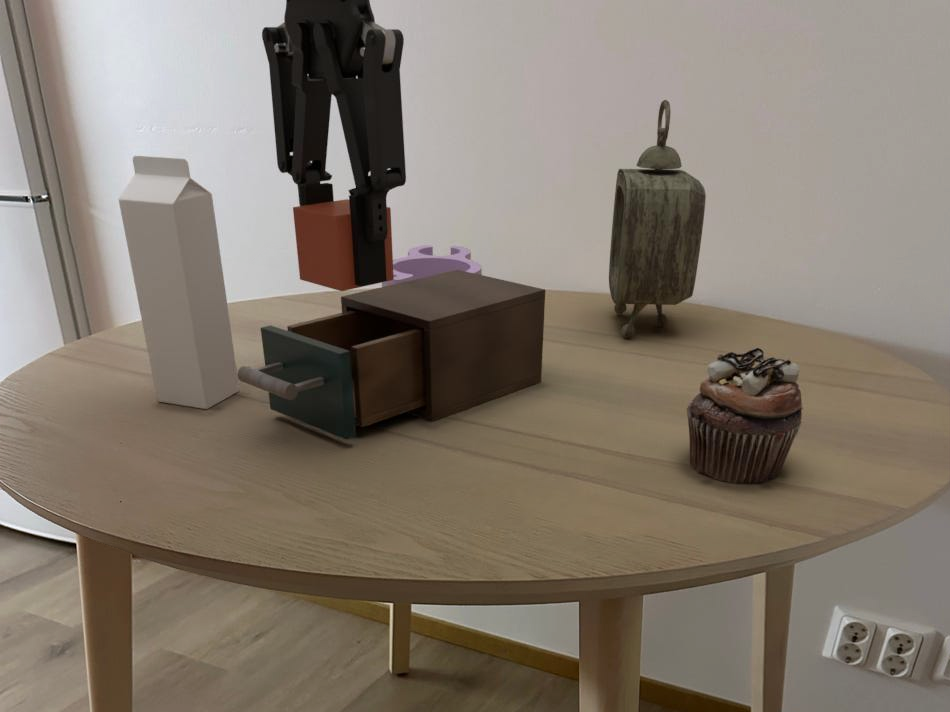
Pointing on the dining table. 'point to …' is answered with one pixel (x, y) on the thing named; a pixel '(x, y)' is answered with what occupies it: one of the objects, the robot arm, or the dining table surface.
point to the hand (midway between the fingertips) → (346, 275)
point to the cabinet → (466, 335)
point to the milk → (179, 283)
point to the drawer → (342, 370)
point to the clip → (431, 264)
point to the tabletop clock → (655, 231)
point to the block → (331, 245)
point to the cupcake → (745, 418)
